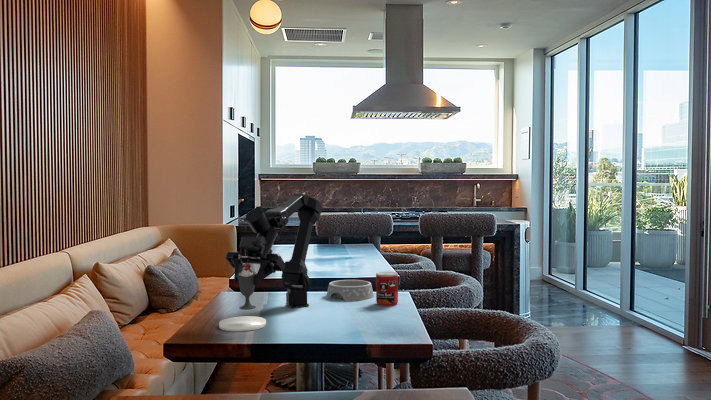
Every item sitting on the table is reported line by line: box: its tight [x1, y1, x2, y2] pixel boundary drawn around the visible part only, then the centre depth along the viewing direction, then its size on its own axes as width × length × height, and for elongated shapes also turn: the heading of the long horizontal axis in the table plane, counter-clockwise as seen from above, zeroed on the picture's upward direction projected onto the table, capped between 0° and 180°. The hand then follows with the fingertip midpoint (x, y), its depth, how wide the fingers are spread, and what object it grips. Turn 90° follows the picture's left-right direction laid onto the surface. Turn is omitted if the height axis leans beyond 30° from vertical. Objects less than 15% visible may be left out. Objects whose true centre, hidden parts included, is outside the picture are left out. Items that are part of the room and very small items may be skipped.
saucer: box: [218, 315, 267, 332], centre depth 174 cm, size 14×14×1 cm
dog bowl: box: [326, 279, 375, 302], centre depth 218 cm, size 17×18×5 cm
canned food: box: [375, 271, 399, 307], centre depth 204 cm, size 8×8×11 cm
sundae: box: [236, 260, 257, 311], centre depth 173 cm, size 7×7×15 cm
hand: (244, 283), depth 172 cm, fingers closed on sundae, 6 cm apart
